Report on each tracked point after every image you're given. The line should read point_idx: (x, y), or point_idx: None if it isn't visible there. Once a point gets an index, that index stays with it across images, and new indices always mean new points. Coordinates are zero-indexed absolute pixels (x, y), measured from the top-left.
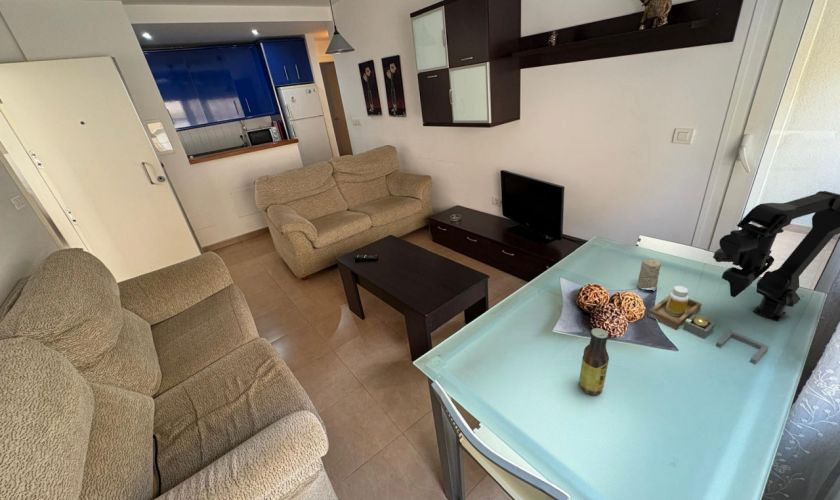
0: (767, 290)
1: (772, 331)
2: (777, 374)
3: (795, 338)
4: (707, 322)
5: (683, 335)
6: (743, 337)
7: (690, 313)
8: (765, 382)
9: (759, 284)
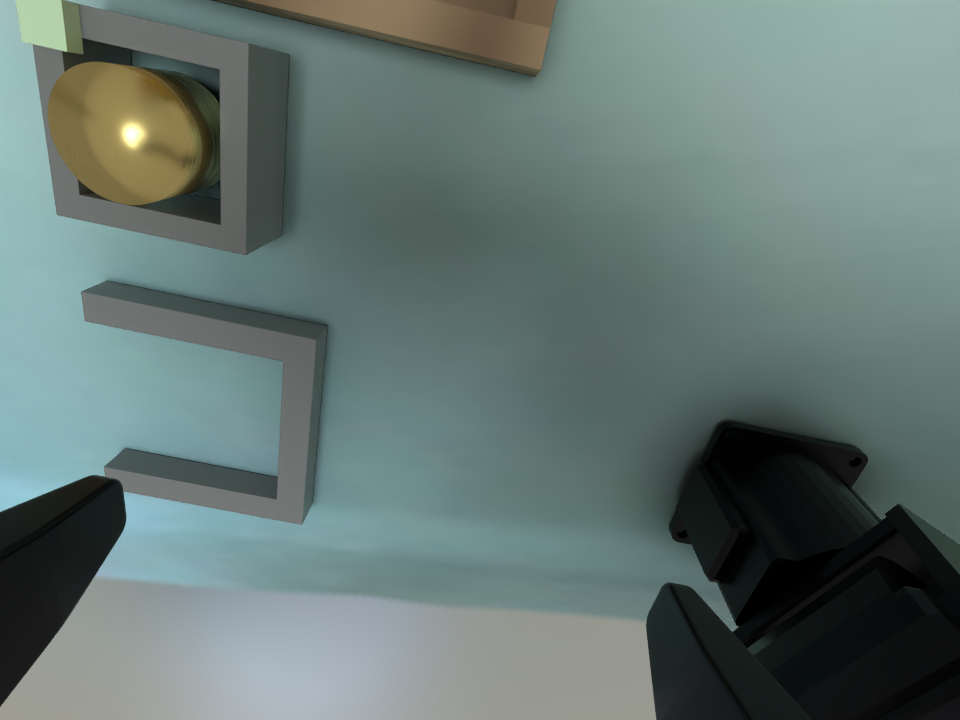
0: (803, 668)
1: (533, 513)
2: (138, 542)
3: (530, 589)
4: (113, 200)
5: (17, 46)
6: (289, 417)
7: (259, 4)
8: None
9: (909, 635)
